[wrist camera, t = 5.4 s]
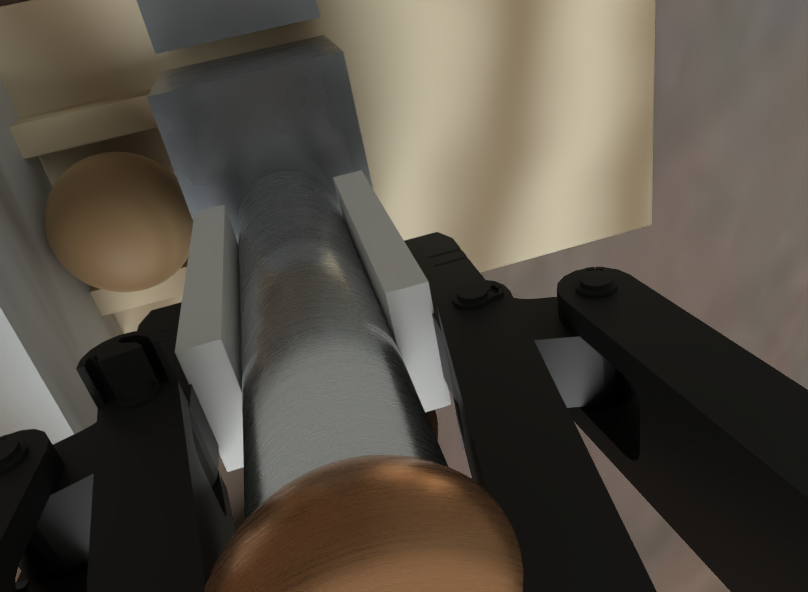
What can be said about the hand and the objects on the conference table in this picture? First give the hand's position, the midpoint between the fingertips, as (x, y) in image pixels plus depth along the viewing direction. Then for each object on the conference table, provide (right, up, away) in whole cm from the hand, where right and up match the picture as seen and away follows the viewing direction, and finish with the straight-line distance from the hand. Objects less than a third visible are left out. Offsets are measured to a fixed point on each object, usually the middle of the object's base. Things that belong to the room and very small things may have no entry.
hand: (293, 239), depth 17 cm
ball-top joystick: (-2, +3, +6) cm, 7 cm away
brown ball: (-6, +2, +6) cm, 8 cm away
